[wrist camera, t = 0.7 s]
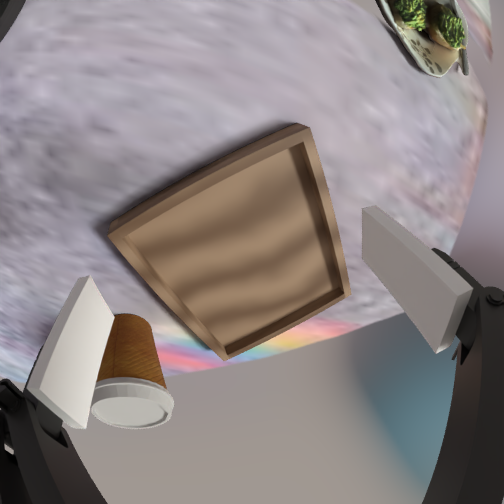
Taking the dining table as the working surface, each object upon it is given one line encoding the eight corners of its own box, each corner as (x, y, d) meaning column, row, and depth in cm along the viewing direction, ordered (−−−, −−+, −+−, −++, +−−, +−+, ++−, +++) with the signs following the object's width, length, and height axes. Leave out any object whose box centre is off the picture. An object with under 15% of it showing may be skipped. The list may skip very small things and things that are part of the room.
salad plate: (476, 51, 23) (499, 56, 19) (428, 107, 27) (455, 116, 24) (417, -54, 12) (441, -58, 8) (347, -21, 16) (375, -30, 12)
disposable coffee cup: (158, 355, 37) (168, 431, 27) (93, 347, 32) (90, 426, 23) (170, 309, 32) (184, 397, 23) (93, 297, 28) (82, 388, 19)
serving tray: (110, 222, 24) (107, 235, 22) (297, 122, 24) (309, 127, 22) (220, 347, 39) (224, 361, 37) (342, 283, 39) (351, 294, 37)
